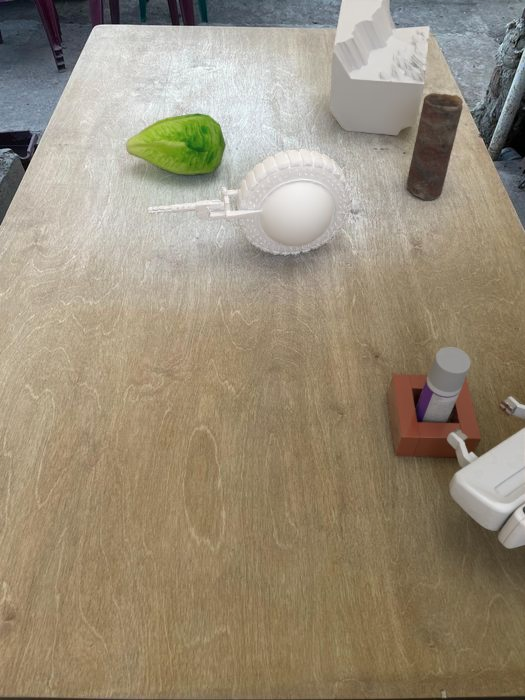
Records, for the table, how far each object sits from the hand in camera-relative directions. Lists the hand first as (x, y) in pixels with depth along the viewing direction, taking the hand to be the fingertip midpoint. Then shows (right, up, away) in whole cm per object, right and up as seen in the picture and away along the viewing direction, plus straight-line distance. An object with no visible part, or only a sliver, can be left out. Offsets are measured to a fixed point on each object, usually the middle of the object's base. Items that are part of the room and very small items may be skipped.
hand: (478, 417), depth 80 cm
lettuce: (-46, +47, +52) cm, 83 cm away
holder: (-4, -2, +11) cm, 12 cm away
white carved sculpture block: (-2, +61, +65) cm, 89 cm away
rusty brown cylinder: (+5, +42, +49) cm, 64 cm away
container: (-4, -2, +12) cm, 12 cm away
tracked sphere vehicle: (-30, +26, +35) cm, 53 cm away
